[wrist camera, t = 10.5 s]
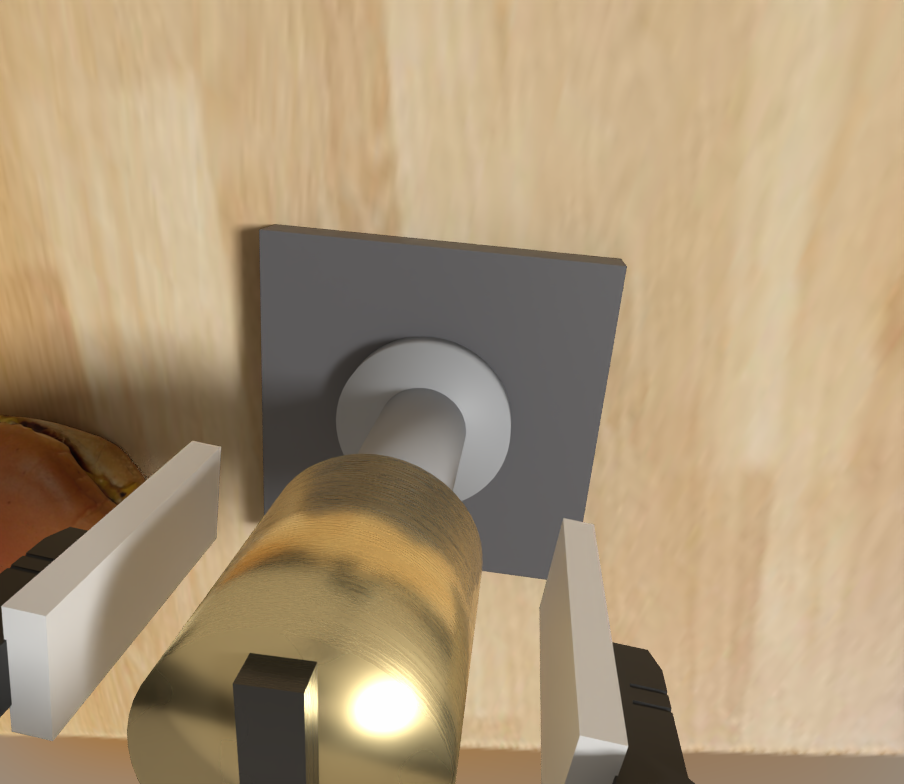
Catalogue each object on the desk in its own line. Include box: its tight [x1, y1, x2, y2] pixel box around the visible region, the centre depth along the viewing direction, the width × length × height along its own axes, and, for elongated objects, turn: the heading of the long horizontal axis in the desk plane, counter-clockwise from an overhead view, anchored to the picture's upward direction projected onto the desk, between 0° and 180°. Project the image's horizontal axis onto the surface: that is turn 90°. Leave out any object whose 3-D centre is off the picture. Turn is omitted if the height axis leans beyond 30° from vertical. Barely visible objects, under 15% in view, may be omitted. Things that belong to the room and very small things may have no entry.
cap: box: [127, 454, 482, 784], centre depth 13 cm, size 5×5×7 cm
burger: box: [0, 415, 145, 573], centre depth 27 cm, size 10×9×5 cm
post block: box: [259, 224, 627, 580], centre depth 21 cm, size 12×12×10 cm
